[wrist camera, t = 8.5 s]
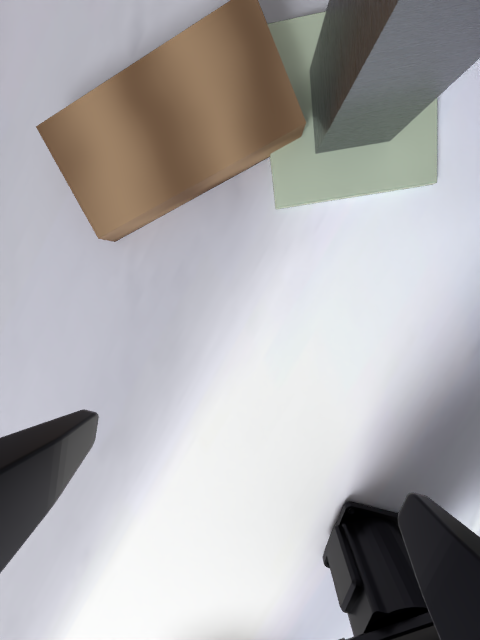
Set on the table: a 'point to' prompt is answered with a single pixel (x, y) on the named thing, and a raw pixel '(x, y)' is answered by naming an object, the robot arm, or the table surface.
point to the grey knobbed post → (386, 65)
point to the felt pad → (346, 164)
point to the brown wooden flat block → (176, 121)
